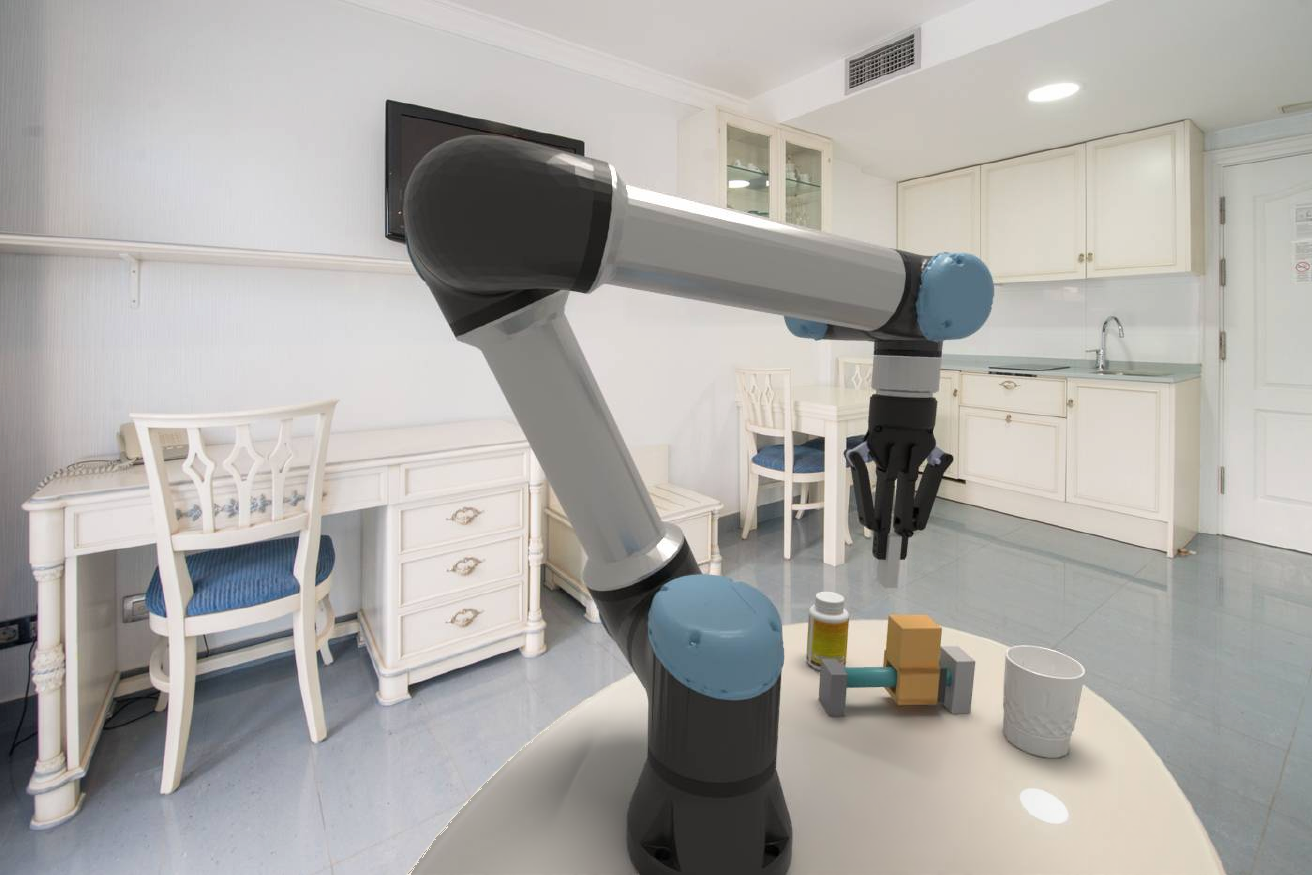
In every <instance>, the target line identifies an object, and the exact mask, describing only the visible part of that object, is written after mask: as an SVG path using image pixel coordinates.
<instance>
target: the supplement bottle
mask: <svg viewBox="0 0 1312 875" xmlns="http://www.w3.org/2000/svg"><path fill="white" fill-rule="evenodd" d="M808 610H809V611H808V619H807V620H808V621H807V637H806V638H807V639H806V655H805V657H806V662H807V664H808V665H809V666H810V667H812V668H813V669H816V670H818V671H820V669H821V659H837V661H838V662H839V663H840V665H841V666H842V668H846V665H847V652H848V640H849V639H848V637H849V622H850V614H849V612H848V610H847V609H846V608H845V597H844V596H843V595H841V594H839V593H838V592H832V591H821V592H817V593H816V594H815V601H814V604H813V605H812V606H811V607H809V609H808Z"/></svg>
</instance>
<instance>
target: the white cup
mask: <svg viewBox="0 0 1312 875" xmlns="http://www.w3.org/2000/svg"><path fill="white" fill-rule="evenodd" d="M1004 654H1005V656H1004V671H1003V672H1004V675H1003V699H1002V700H1003V701H1002V702H1003V703H1002V707H1003V721H1002V733H1003V735H1004V737H1005V738H1006V740H1007V741H1008V742H1010V744H1012V745H1014V746H1015V747H1016V748H1018V749H1020V750H1022V751H1024V752H1026V753H1028V754H1031V755H1035V756H1037V757H1038V756H1039V757H1043V758H1048V759H1049V758H1052V759H1053V758H1056V759H1057V758H1058V759H1059V758H1062V757H1064V756H1066V755H1068V753H1069V749H1070V744H1071V743H1070V742H1071V739H1072V738H1071V737H1072V736H1073V735H1072V734H1073V732H1074V730H1075V724H1076V721H1077V719H1078V712H1079V706H1080V702H1081V701H1080V700H1081V697H1082V691H1083V685H1084V680H1085V676H1086V669H1085V667H1084V666H1083V665H1082V664H1081V663H1080V662H1079V661H1078V660H1076V659H1074V658H1072V656H1069V655H1067V654H1065V653H1062V652H1060V651H1057V650H1054V649H1050V648H1046V647H1042V646H1038V645H1026V644H1023V645H1022V644H1021V645H1013V646H1011V647H1009V648H1007V649H1006V650H1005V653H1004Z"/></svg>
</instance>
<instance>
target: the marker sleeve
mask: <svg viewBox="0 0 1312 875" xmlns="http://www.w3.org/2000/svg"><path fill="white" fill-rule="evenodd" d="M887 618H888V619H887V628H886V629H887V631H886V641H885V642H886V643H885V649H884V652H883V661H882V662H883V665H882V667H894V668H895V669H896V670H897V671H898V672H897V685H896V687H883V688H884V689H885V691H886V692H887V693H888V694H889V696H890V697H891V698H892V700H893V701H894V702H895V703H896V704H897V705H898V706H907V705H908V706H912V705H915V706H916V705H937V704H938V703H937V698H938V687H939V676H940V667H939V657H940V646H941V644H942V643H941V642H942V634H943V632H942V631H943V628H942V626H940V625H939V624H938V623H936V622H935V621H934V619H932V618H931V617H929V615H928V614H888V617H887Z"/></svg>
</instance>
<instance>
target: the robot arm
mask: <svg viewBox="0 0 1312 875" xmlns="http://www.w3.org/2000/svg"><path fill="white" fill-rule="evenodd" d="M402 214H403V220H404V221H403V222H404V237H405V246H406V250H407V253H408V256H409V259H410V262H411V264H412V265H413V267H414V270H415V272H416V273H417V275H418V276H419V278H420V279H421V280H422V281H423V282H425V284H426V286H427V287H428V288H429V290H430V293H431V294H432V296H433V298H434V299H435V301H436V303H437V305H438V307H439V309H440V311H441V312H442V313H441V314H442V315H443V317H444V319H445V321H446V322H447V324H448V327H449V328H450V330H451V332H452V334H453V336H454V337H455V339H456V341H457V342H461V343H463V344H466V345H469V346H472V347H475V348H476V349H478V350H479V351H481V353H482V355H483V357H484V359H485V360H486V362H487V364H488V366H489V368H490V371H491V373H492V375H493V377H494V379H495V381H496V383H497V384H498V386H499V388H500V390H501V392H502V394H503V396H504V398H505V399H506V402H507V404H508V406H509V408H510V409H511V411H512V413H513V415H514V417H515V419H516V421H517V423H518V425H519V426H520V429H521V430H522V432H523V434H524V436H525V438H526V441H527V442H528V445H529V446H530V448H531V450H532V453H533V454H534V456H535V457H536V458H535V459H536V460H537V462H538V464H539V465H540V468H541V470H542V471H543V474H544V475H545V477H546V479H547V481H548V483H549V485H550V487H551V488H552V490H553V493H554V495H555V496H556V498H557V500H558V502H559V504H560V506H561V508H562V510H563V512H564V514H565V515H566V518H567V521H569V524H570V525H571V527H572V529H573V531H574V534H576V537H577V539H578V541H579V543H580V545H581V547H582V549H583V551H584V553H585V555H586V558H587V560H586V563H585V565H584V567H583V570H582V575H581V576H582V580H583V583H584V585H585V587H586V589H587V590H588V593H589V595H590V597H591V598H592V600H593V602H594V604H595V606H596V610H597V612H598V617H599V621H600V622H601V624H602V627H604V630H605V632H606V633H607V635H609V637H610V638H611V639H612V640H613V641H614V642H615V644H616V645H617V647H618V649H619V650H620V651H621V653H622V655H623V656H624V658H625V659H626V661H627V663H628V664H629V666H630V667H631V669H632V670H633V673H634V674H635V675H636V677H637V679H638V680H639V682H640V683H641V686H642V687H643V688H644V690H645V693H646V696H647V703H648V704H647V751H646V753H647V754H646V758H645V762H644V765H643V768H642V770H641V773H640V775H639V778H638V781H637V784H636V786H635V788H634V791H633V794H632V796H631V799H630V802H629V805H628V808H627V809H628V810H627V813H626V814H627V815H626V847H627V852H628V855H629V858H630V860H631V862H632V864H633V866H634V867H635V870H636V871H637V872H638V873H639V875H787V873H788V870H789V869H790V865H791V861H792V852H793V851H792V850H793V823H792V819H791V816H790V811H789V808H788V805H787V802H786V797H785V794H784V791H783V788H782V783H781V780H780V777H779V774H778V771H777V755H778V741H779V740H778V739H779V722H780V720H779V719H780V705H781V704H780V703H781V690H782V686H781V685H782V674H783V673H782V671H783V670H782V669H783V667H784V664H785V648H784V647H785V646H784V637H783V624H782V618H781V616H780V613H779V611H778V608H777V607H776V605H775V604H774V603H773V601H771V599H770V598H769V597H768V596H767V595H766V594H764V593H763V592H762V591H760V590H759V589H758V588H756V587H755V586H752V585H751V584H748V583H747V582H744V581H739V582H738V581H737V582H736V581H733V580H732V579H733V578H731V577H728V576H722V575H718V574H717V575H716V574H705V573H704V574H703V572H702V571H701V567H700V566H699V564H698V562H697V560H696V557H695V555H694V554H693V551H692V549H691V547H690V545H689V543H688V541H687V539H686V537H685V534H684V532H683V530H682V528H681V527H680V526H678V525H677V524H674V523H671V522H668V521H665V520H662V519H661V516H660V515H659V512H658V510H657V507H656V506H655V503H654V502H653V499H652V498H651V494H650V493H649V490H648V489H647V487H646V485H645V482H644V480H643V478H642V476H641V473H640V471H639V469H638V468H637V465H636V463H635V461H634V458H633V456H632V454H631V452H630V450H629V448H628V445H627V444H626V442H625V440H624V438H623V435H622V433H621V432H620V429H619V427H618V424H617V423H616V421H615V419H614V416H613V414H612V412H611V409H610V408H609V406H608V403H607V401H606V399H605V397H604V395H603V392H602V391H601V388H600V386H599V384H598V382H597V379H596V378H595V376H594V374H593V372H592V369H591V367H590V364H589V363H588V360H587V359H586V357H585V354H584V353H583V350H582V348H581V345H580V344H579V341H578V339H577V337H576V335H575V333H574V331H573V328H572V327H571V324H570V322H569V319H568V318H567V316H566V314H565V310H566V308H565V307H566V304H567V301H568V298H569V295H570V293H571V292H573V293H580V294H585V295H590V294H592V293H593V292H595V291H596V290H597V289H599V288H600V287H602V286H603V285H611V286H616V287H622V288H627V289H633V290H638V291H643V292H650V293H655V294H660V295H666V296H671V297H677V298H682V299H688V300H694V301H699V302H703V303H704V302H705V303H711V304H716V305H721V306H727V307H733V308H737V309H744V310H750V311H755V312H760V313H761V312H762V313H766V314H771V315H778V316H783V320H784V323H785V326H786V328H787V330H788V331H789V332H790V334H792V335H793V336H795V337H797V338H802V339H808V340H809V339H812V340H813V341H816V342H817V341H825V340H829V341H846V342H847V341H848V342H849V341H852V342H853V341H856V342H859V341H860V342H861V341H862V342H863V341H864V342H872V343H873V359H872V371H871V383H870V384H871V385H870V387H871V388H872V389H873V391H874V390H875V393H872V395H871V396H869V404H868V418H867V423H868V424H867V430H866V433H865V435H864V437H863V438H862V443H860V444H859V445H857V446H855V447H853V448H852V449H851V448H846V449H845V450H844V451H843V457H844V458H845V460H846V462H847V464H848V465H849V468H850V473H851V478H852V485H853V486H852V487H853V491H854V497H855V498H854V499H855V504H856V510H857V515H858V521H859V524H860V525H861V526H863V527H865V528H866V529H867V530H869V531H872V532H873V538H872V547H871V552H872V556H873V557H874V558H875V559H877V566H876V567H877V569H876V581H877V583H879V584H880V585H881V586H882V587H884V588H885V589H898V584H899V574H900V573H899V572H900V563H901V561H905V560H906V559H907V556H908V546H909V538H912V537H913V536H914V534H915V532H916V531H917V532H918V531H921V532H922V531H924V530H925V528H927V524H928V521H929V519H930V516H931V513H932V510H933V507H934V504H935V501H936V498H937V496H938V492H939V488H940V486H941V483H942V480H943V477H944V475H945V472H946V471H947V469H949V467H950V466H951V465H952V464H953V462H954V460H955V459H954V456H953V455H952V454H951V453H949V452H948V453H947V452H944V451H943V449H941V448H939V447H938V446H937V440H936V438H935V435H934V429H935V426H936V421H937V420H936V419H937V411H938V400H937V398H936V397H933V395H934V394H936V393H938V392H939V391H940V381H941V369H942V353H943V346H944V341H954V340H962V339H966V338H968V337H970V336H972V335H973V334H975V333H977V332H978V331H980V329H981V328H982V327H983V326H984V325H985V323H986V322H987V321H988V318H989V317H990V314H991V312H992V309H993V308H992V305H993V304H994V297H995V285H994V279H993V276H992V274H991V273H992V272H990V269H989V268H988V266H987V265H986V264H985V262H983V261H982V259H981V258H979V256H976V255H975V254H972V253H968V252H951V253H950V252H946V251H944V252H939V253H936V254H934V255H923V254H918V253H913V252H909V251H906V250H902V249H896V248H891V247H886V246H882V245H878V244H875V243H871V242H866V241H863V240H858V239H855V238H850V237H846V236H843V235H838V234H835V233H830V232H826V231H822V230H817V229H815V228H810V227H808V226H807V227H806V226H802V225H798V224H794V223H790V222H787V221H782V220H778V219H773V218H770V217H766V216H762V215H758V214H754V213H750V212H747V211H743V210H739V209H735V208H730V207H727V206H722V205H717V204H714V203H710V202H707V201H702V200H697V199H695V198H694V199H693V198H689V197H687V196H682V195H677V194H675V193H674V194H673V193H671V192H667V191H662V190H659V189H653V188H650V187H646V186H642V185H640V184H639V185H638V184H634V183H629V182H626V181H623V180H622V178H621V177H620V175H619V174H618V171H617V169H615V167H614V166H613V164H612V163H611V162H607V161H603V160H599V159H595V158H593V157H592V158H591V157H588V156H584V155H581V154H576V153H572V152H568V151H565V150H561V149H557V148H553V147H550V146H545V145H542V144H538V143H534V142H531V141H530V142H529V141H524V140H521V139H520V140H519V139H515V138H510V137H506V136H501V135H499V136H498V135H490V134H489V135H488V134H471V135H470V134H469V135H463V136H459V137H455V138H453V139H449V140H447V141H444V142H443V143H441V144H439V145H437V146H435V147H434V148H431V150H430V151H428V152H427V153H426V154H425V155H424V156H423V157H422V158H421V159H420V161H419V162H418V163H417V164H416V165H415V167H414V169H413V171H412V173H411V175H410V177H409V179H408V182H407V184H406V188H405V190H404V194H403V210H402ZM868 456H869V457H871V460H873V462H874V464H875V475H876V483H875V494H874V495H875V496H874V500H873V495H872V488H871V487H872V486H871V480H870V473H869V469H868V466H867V464H866V463H868V461H869V457H868ZM925 460H926V461H927V463H926V465H925V467H924V468H923V472H922V474H921V478H920V480H919V485H918V487H917V489H916V484H917V481H918V479H919V472H920V468H921V465H922V464H923V463H924V462H925ZM894 495H895V496H894ZM893 504H894V505H893ZM893 507H894V509H893ZM892 516H893V520H892ZM891 528H893V529H894V530H892V529H891Z"/></svg>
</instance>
